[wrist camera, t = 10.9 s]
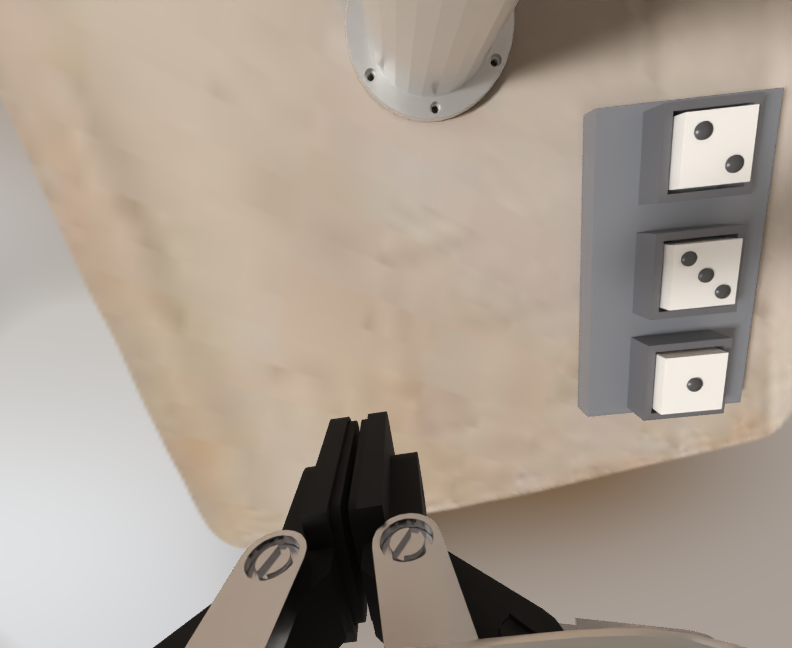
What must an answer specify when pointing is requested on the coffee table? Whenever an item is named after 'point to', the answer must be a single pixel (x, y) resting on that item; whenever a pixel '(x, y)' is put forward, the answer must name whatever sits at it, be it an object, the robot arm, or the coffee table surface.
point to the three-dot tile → (699, 272)
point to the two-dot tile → (712, 147)
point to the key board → (660, 250)
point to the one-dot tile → (689, 380)
